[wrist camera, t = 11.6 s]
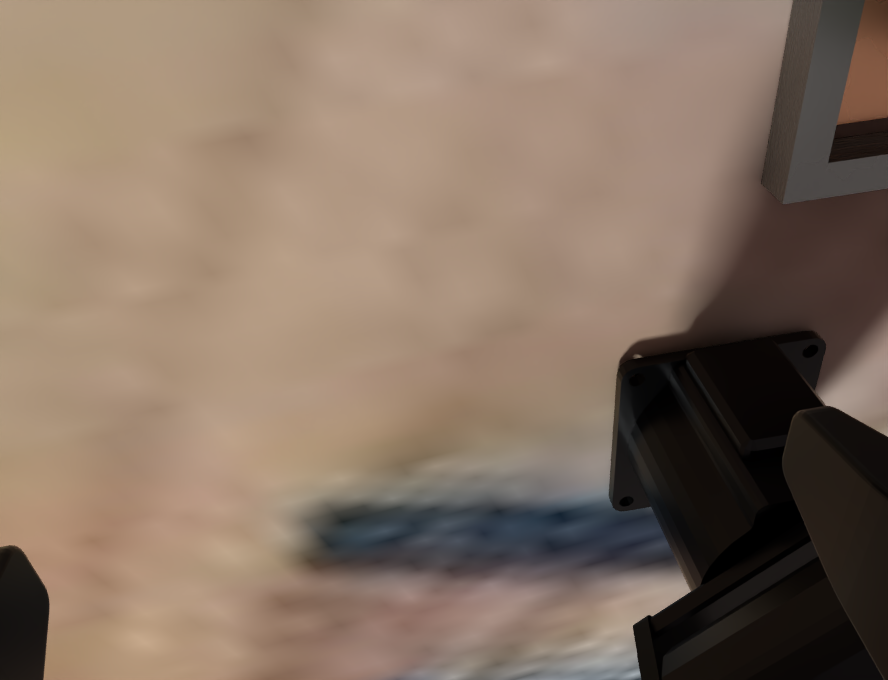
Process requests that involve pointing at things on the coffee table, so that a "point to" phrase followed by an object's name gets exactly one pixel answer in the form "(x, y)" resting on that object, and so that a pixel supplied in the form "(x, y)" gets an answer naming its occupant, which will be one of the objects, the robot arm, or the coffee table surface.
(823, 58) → the grey double frame
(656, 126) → the coffee table surface
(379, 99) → the coffee table surface
